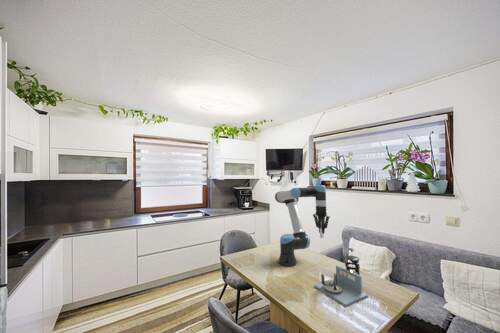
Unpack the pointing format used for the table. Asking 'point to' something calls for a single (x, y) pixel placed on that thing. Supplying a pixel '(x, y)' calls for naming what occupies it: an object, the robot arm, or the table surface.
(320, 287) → the stand
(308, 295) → the table surface
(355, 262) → the french press
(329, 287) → the capstan
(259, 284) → the table surface
